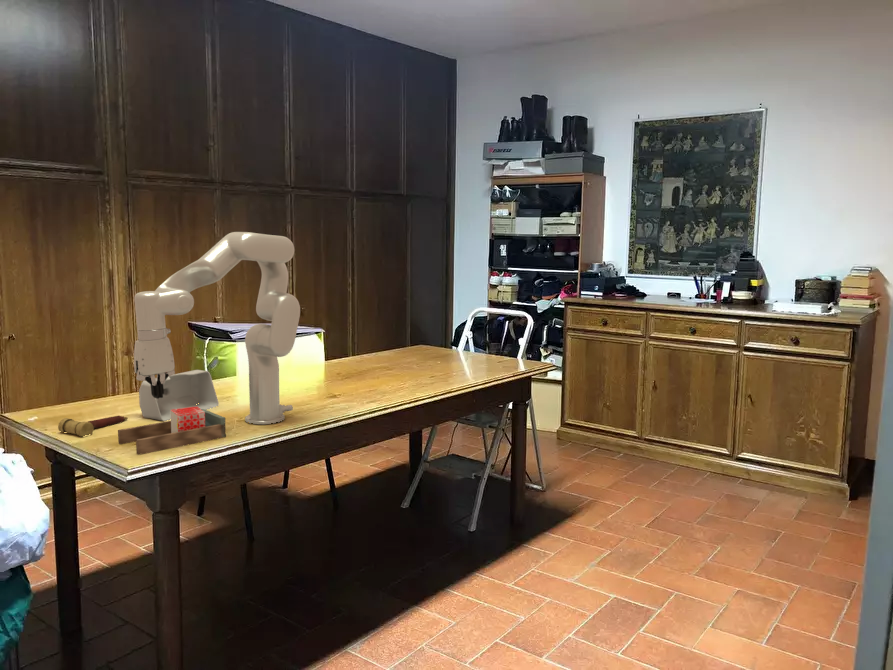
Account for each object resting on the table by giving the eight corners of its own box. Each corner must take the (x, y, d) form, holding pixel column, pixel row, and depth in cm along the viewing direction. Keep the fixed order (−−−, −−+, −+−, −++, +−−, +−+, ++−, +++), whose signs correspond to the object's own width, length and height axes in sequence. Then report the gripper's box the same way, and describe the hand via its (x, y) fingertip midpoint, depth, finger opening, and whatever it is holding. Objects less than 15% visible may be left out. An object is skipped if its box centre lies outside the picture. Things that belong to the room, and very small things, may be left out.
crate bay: (203, 427, 226) (202, 408, 226) (225, 437, 216) (225, 417, 215) (118, 443, 208) (117, 423, 208) (138, 454, 198) (137, 433, 197)
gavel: (116, 409, 236) (138, 412, 232) (116, 422, 236) (138, 426, 232) (57, 419, 217) (80, 423, 213) (57, 434, 217) (80, 438, 213)
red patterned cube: (171, 435, 218) (170, 409, 217) (197, 431, 222) (196, 406, 221) (178, 441, 211) (177, 415, 210) (205, 437, 216) (204, 412, 215)
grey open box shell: (187, 401, 261) (185, 367, 260) (219, 406, 254) (218, 371, 252) (128, 415, 240) (126, 379, 238) (162, 422, 232) (160, 384, 230)
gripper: (172, 330, 212) (177, 390, 216) (120, 337, 202) (126, 400, 205) (183, 332, 207) (188, 394, 210) (130, 340, 197) (137, 405, 200)
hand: (158, 397), depth 208 cm, fingers closed
